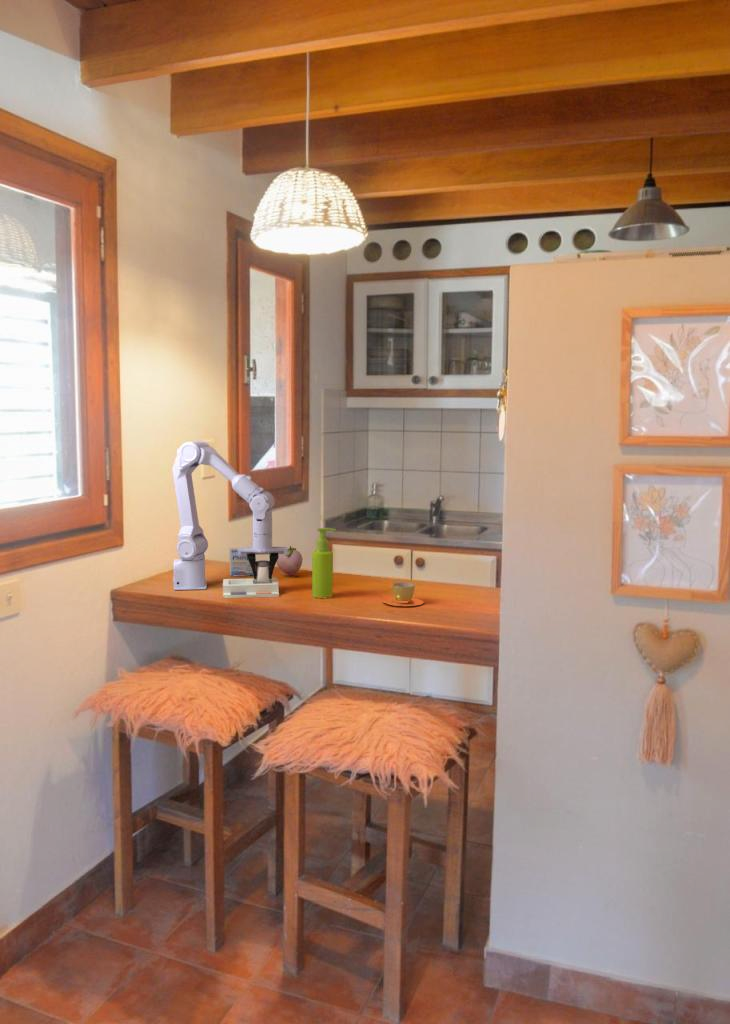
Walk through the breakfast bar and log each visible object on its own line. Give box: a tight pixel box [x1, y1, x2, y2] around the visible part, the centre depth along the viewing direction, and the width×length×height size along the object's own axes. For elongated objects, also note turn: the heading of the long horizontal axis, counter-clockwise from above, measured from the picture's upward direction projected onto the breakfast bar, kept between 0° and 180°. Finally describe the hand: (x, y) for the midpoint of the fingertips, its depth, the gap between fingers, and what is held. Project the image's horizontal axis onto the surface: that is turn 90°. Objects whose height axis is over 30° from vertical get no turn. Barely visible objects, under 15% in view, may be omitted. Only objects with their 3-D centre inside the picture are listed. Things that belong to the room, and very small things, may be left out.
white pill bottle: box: [256, 559, 270, 584], centre depth 232 cm, size 4×4×7 cm
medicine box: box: [229, 547, 254, 577], centre depth 255 cm, size 8×4×9 cm, turn 104°
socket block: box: [222, 577, 280, 599], centre depth 231 cm, size 16×12×3 cm
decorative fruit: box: [276, 545, 303, 577], centre depth 253 cm, size 9×8×10 cm
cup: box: [391, 581, 416, 602], centre depth 222 cm, size 12×12×5 cm
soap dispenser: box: [311, 527, 337, 599], centre depth 227 cm, size 6×7×20 cm
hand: (262, 578), depth 232 cm, fingers closed on white pill bottle, 4 cm apart
